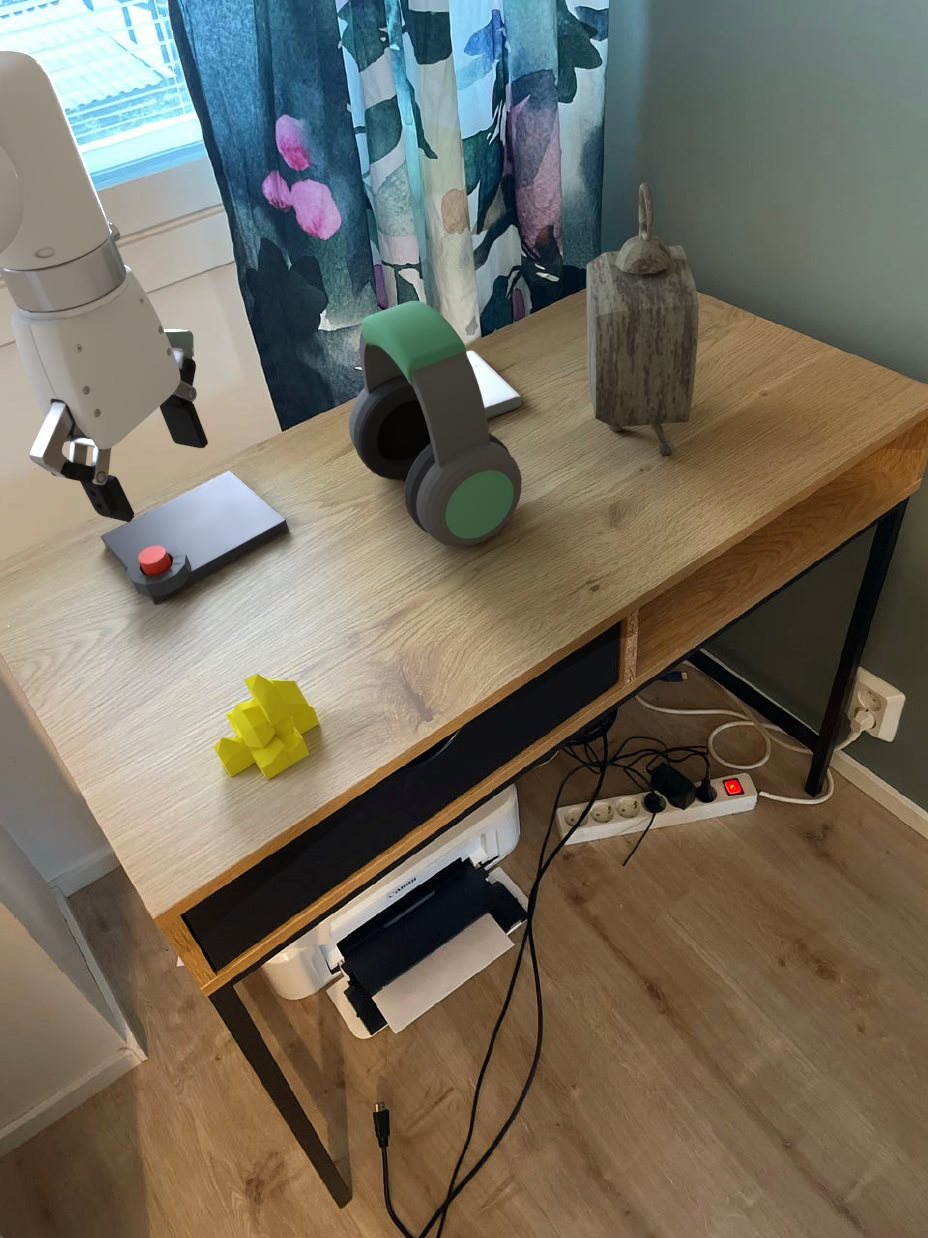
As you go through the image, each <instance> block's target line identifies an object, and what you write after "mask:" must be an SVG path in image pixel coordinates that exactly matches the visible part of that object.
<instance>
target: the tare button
mask: <svg viewBox="0 0 928 1238" xmlns="http://www.w3.org/2000/svg"><path fill="white" fill-rule="evenodd" d="M138 560H139V562H140V564H141V566H142V568H143V571H144V572H145V574H147V575H149V576H154V575H159V574H161V573H163V572H165V571H167V570H168V569H169V568H170V566H171V560H170V558H169V556H168V554H167V552H166V549H165V548H164V547H162V546H151V547H148V548H146V549H144V550H143V551H142V552H141V553H140V554H139V557H138Z"/></svg>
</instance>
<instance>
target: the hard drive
mask: <svg viewBox="0 0 928 1238" xmlns="http://www.w3.org/2000/svg"><path fill="white" fill-rule="evenodd" d="M466 353H467V356H468V359H469V361H470V363H471V365H472V368H473V370H474V373H475V376H476V378H477V381H478V385H479V388H480V391H481V395H482V399H483V403H484V407H485V412H486V417H487V420H489V419H491V418H494V417H497V416H500V415H502V414H505V413H509V412H510V411H514V410H516V409H519V408H520V407H522V405H523V403H522V396H521V394H519V393H518V391H516V390H515V389H514V388H513V387H512V386H511V385H510V384H509V383H508V382H507V381H506V380H505V379H503V378H502V376H500V375H499V373H497V372H496V371H495V369H494V368H492V367H491V366H490V365H489V364H488V363H487V362H486V361H485V360H484V359H483V358H482V357H481V356H480V355H479V354H478V353H477V352H476V351H475V350H468V351H467V350H466Z"/></svg>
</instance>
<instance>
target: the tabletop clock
mask: <svg viewBox="0 0 928 1238" xmlns="http://www.w3.org/2000/svg"><path fill="white" fill-rule="evenodd" d="M653 203H654V202H653V194H652V191H651V187H650V185H649V184H648V182H647V181H643V182H642V183H641V184H639V189H638V225H639V226H638V235H636V236H633V237H631V238H628V239H627V240H626V242H624V243H623V245H622V246H621V248H620V250H614V251H613V250H612V251H607V252H606V251H604V252H603V253H601V254H600V255H599V256H597V257H595V258H594V259H593V260H591V261H590V262H588V263H587V264H586V275H585V276H586V283H585V286H586V290H585V291H586V293H585V294H586V297H585V299H586V306H585V307H586V310H585V311H586V362H587V374H588V381H589V390H590V397H591V405H592V411H593V416H594V419H595V420H598V421H599V422H602V423H604V424H606V425H607V428H609V430H610V431H612V432H619V431H620V430H622V428H626V427H640V426H650V427H652V428H653V430H654V432H655V433H656V436H657V437H658V439H659V441H660V442H661V443H660V444H659V446H658V452H659V454H660V455H661V456H663V457H671V456H672V455H674V453H675V450H676V445H675V444H674V443H673V442H672V441H670V440H667V438H666V435H665V432H664V428H663V425H665V424H678V423H689V420H690V416H691V409H692V405H693V404H692V403H693V395H694V388H695V387H694V386H695V377H696V365H697V354H698V353H697V350H698V339H699V338H698V335H699V299H698V291H697V286H696V282H695V279H694V278H695V277H694V275H693V272H692V267H691V265H690V261H689V259H688V257H687V254H686V252H685V249H684V247H683V246H682V245H678V244H677V245H668V244H667V243H665V242H664V241H663V240H662V239H661V238H660V237H659V236H656V235H653V233H654V232H653V230H654V204H653ZM645 210H646V211H645Z"/></svg>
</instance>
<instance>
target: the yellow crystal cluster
mask: <svg viewBox="0 0 928 1238" xmlns="http://www.w3.org/2000/svg"><path fill="white" fill-rule="evenodd" d="M243 680H244V682H245V684H246V687H247V689H248V691H249V693H250V695H251V697H252V699H250V700H246V701H242V702H238V703H236V704H235V706H234V709H232V710H230V711H229V712H227V713H225V716H226V718H227V720H228V722H229V725H230V727H231V728H232V731H233V733H234V734H235V737H233V736H232V737H227V736H222V737H220V738H219V740H218V741H217V742H216V743H215V744H214V745H213V749H214V751H215V753H216V755H217V756H218V759H219V760H220V763H221V765H222V766H223V767H224V769H225V771H226V773H228V775H229V776H230V778H232V777H234V776H235V775H237V774H239V773H241V772H242V771H245V769H247V768H249V767H250V766H252V765H254V764H255V765H256V766H257V768H258V769H259V770H260V772H261V773H262V775H263V776H264V778H265V779H266V780H267V781H268V780H270V779H272V778H273V777H275V776H277V775H279V774H280V773H282V772H283V771H285V770H287V769H288V768H290V767H291V766H293V765H295V764H296V763H298V762H300V761H301V760H303V759H304V758H306V757H307V756H309V755H310V753H309V750H308V748H307V745H306V743H305V740H304V737H303V736H302V735H303V734H305V733H307V732H308V731H310V730H312V729H314V728H315V727H316V726H318V725H320V721H319V718H318V716H317V713H316V710H315V707H313V706H312V705H311V704H310V703H309V702H308V701H307V700H306V698H305V696H304V695H303V692H302V691H301V689H300V688H299V686H298V684H297V683H296V681H295V680H289V679H288V680H286V679H277V678H268V677H265V676H263V675H261V674H258V673H255V674H253V675H251V676H248V677H246V678H244V679H243Z"/></svg>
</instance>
